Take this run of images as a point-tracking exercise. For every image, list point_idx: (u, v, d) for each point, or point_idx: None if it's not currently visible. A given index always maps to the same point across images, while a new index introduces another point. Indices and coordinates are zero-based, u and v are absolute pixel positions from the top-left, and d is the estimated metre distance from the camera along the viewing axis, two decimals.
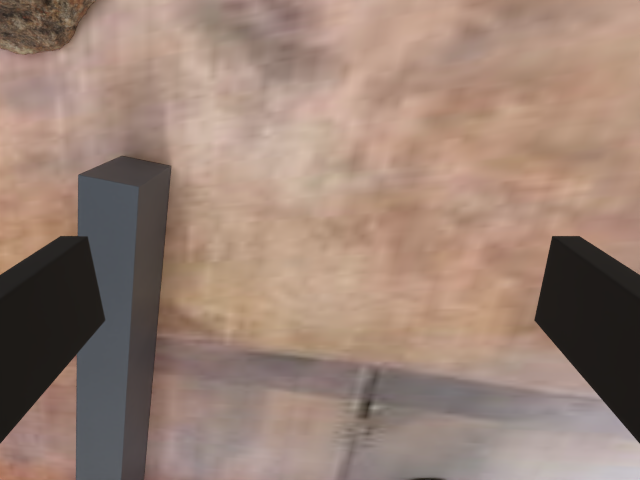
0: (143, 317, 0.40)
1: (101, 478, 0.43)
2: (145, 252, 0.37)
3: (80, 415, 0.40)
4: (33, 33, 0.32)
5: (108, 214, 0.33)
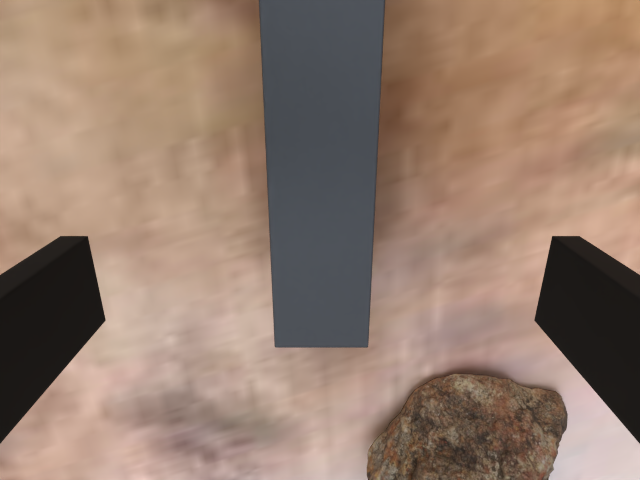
0: None
1: None
2: None
3: None
4: (441, 420, 0.28)
5: (319, 297, 0.20)
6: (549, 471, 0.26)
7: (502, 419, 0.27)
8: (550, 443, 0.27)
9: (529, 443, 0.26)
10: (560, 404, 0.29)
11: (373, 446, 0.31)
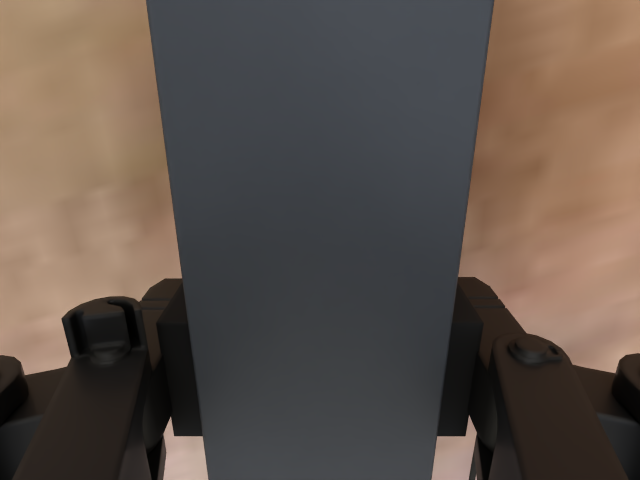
0: None
1: None
2: None
3: None
4: None
5: None
6: None
7: None
8: None
9: None
10: None
11: None
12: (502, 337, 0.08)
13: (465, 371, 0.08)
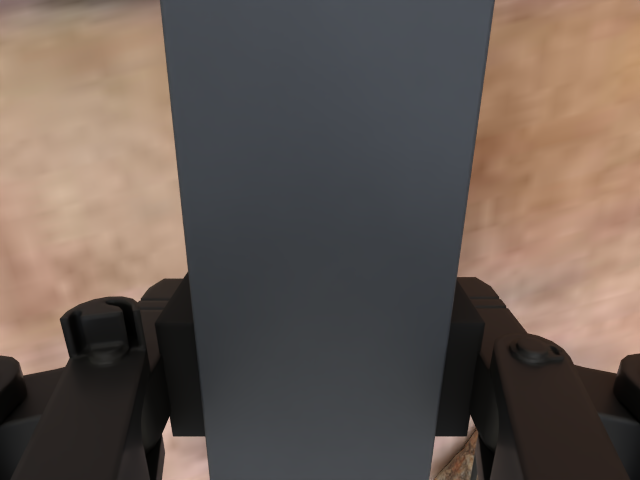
0: None
1: None
2: None
3: None
4: None
5: None
6: None
7: None
8: None
9: None
10: None
11: None
12: (503, 337, 0.08)
13: (466, 371, 0.08)
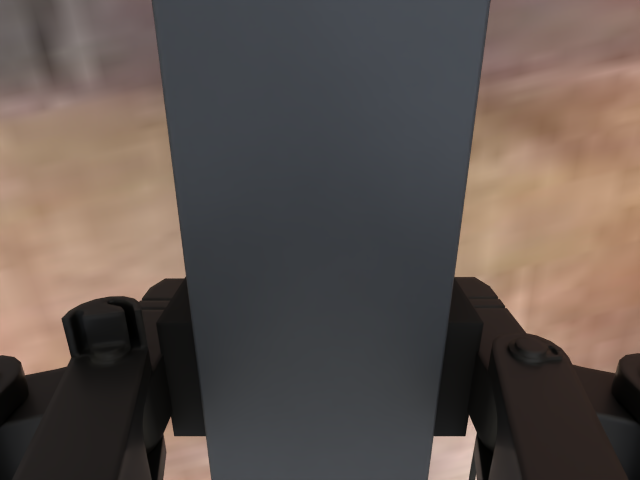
0: None
1: None
2: None
3: None
4: None
5: None
6: None
7: None
8: None
9: None
10: None
11: None
12: (502, 337, 0.08)
13: (465, 371, 0.08)
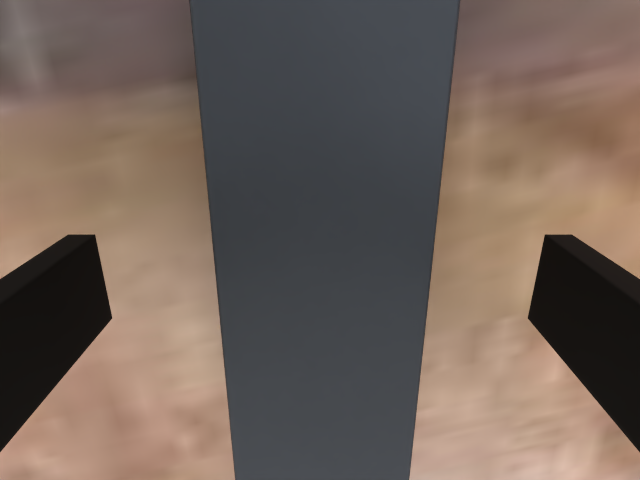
0: None
1: None
2: None
3: None
4: None
5: (318, 464, 0.11)
6: None
7: None
8: None
9: None
10: None
11: None
12: None
13: None
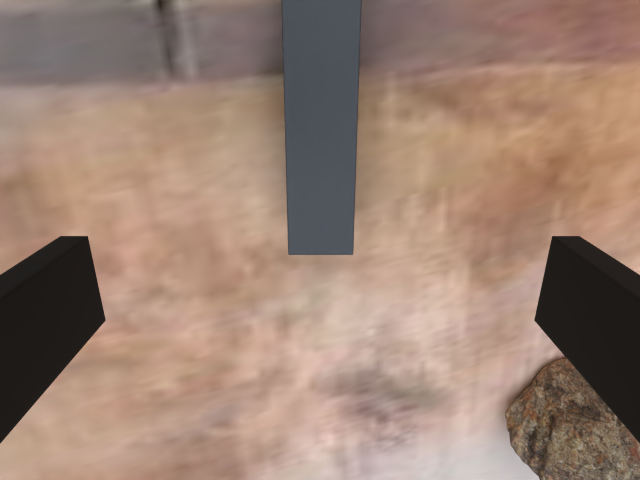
0: None
1: None
2: None
3: None
4: (570, 388, 0.40)
5: (319, 217, 0.29)
6: None
7: None
8: None
9: None
10: None
11: (511, 409, 0.43)
12: None
13: None
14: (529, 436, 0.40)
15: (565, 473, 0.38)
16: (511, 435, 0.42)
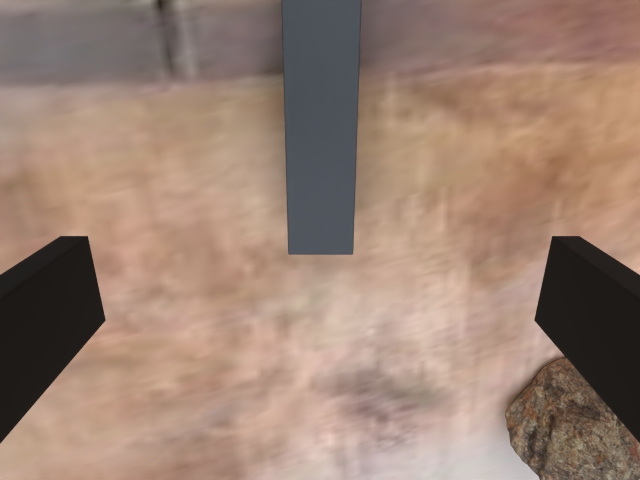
0: None
1: None
2: None
3: None
4: (570, 388, 0.40)
5: (319, 217, 0.29)
6: None
7: None
8: None
9: None
10: None
11: (511, 409, 0.43)
12: None
13: None
14: (529, 436, 0.40)
15: (565, 473, 0.38)
16: (511, 435, 0.42)
